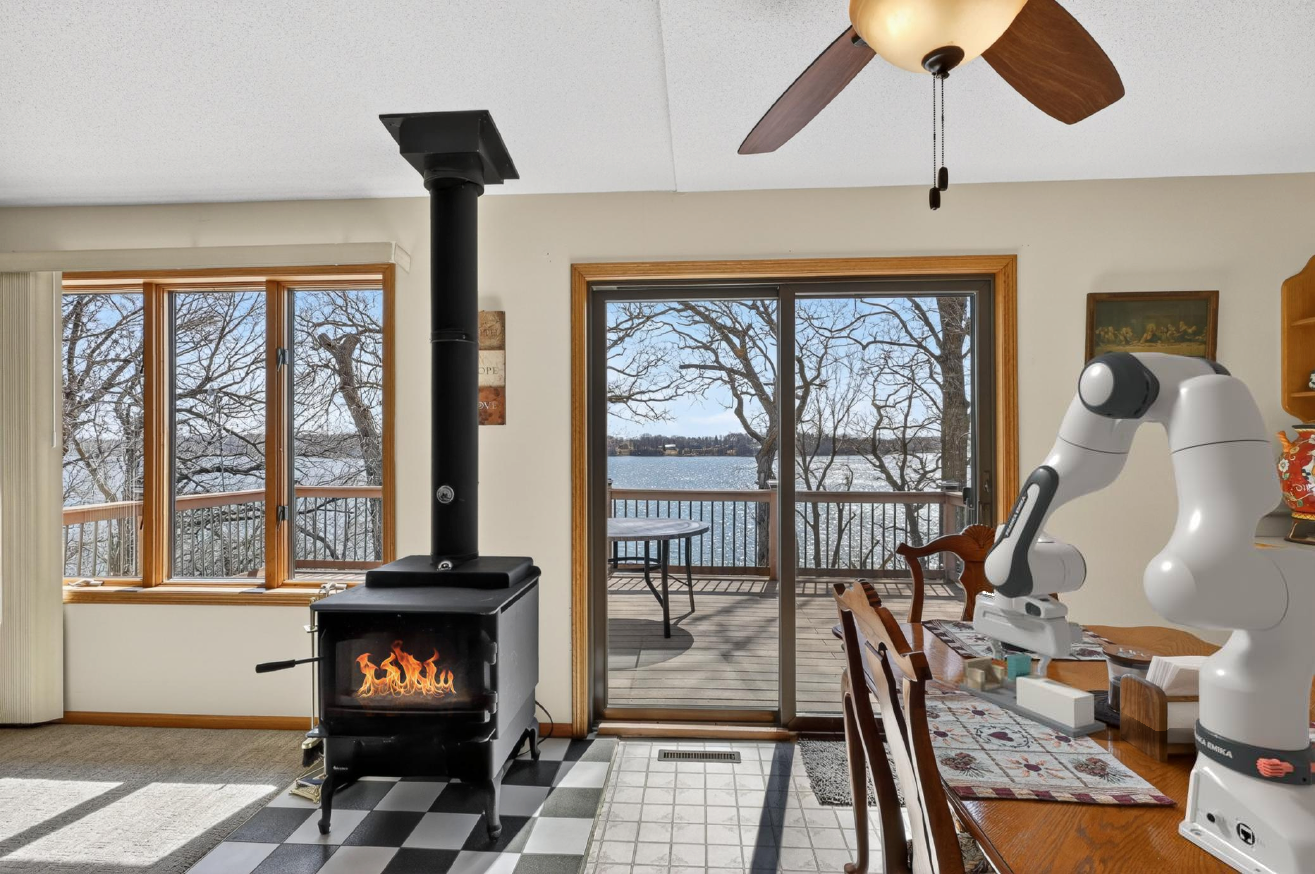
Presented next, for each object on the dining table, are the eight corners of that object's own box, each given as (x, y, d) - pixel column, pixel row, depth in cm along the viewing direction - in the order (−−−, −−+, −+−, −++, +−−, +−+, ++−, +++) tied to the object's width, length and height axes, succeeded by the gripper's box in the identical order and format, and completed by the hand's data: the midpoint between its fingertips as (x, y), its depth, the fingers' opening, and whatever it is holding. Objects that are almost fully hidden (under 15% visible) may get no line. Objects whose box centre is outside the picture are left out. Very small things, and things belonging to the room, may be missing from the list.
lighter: (1081, 641, 177) (1081, 612, 177) (1082, 643, 176) (1082, 613, 176) (1051, 638, 181) (1050, 609, 181) (1051, 640, 179) (1051, 610, 179)
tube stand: (1106, 729, 123) (1105, 694, 123) (1072, 737, 119) (1072, 701, 119) (988, 682, 147) (988, 654, 147) (958, 688, 143) (957, 659, 143)
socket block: (1004, 686, 142) (1004, 662, 142) (980, 691, 139) (980, 666, 139) (987, 679, 146) (986, 656, 146) (963, 684, 143) (963, 660, 143)
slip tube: (1087, 716, 124) (1086, 674, 124) (1070, 720, 122) (1070, 677, 122) (1016, 689, 138) (1016, 651, 138) (1001, 692, 136) (1000, 653, 136)
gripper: (965, 590, 143) (966, 653, 143) (1053, 612, 124) (1054, 685, 124) (986, 587, 146) (987, 650, 145) (1076, 609, 127) (1076, 681, 127)
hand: (1018, 666), depth 135 cm, fingers open, 8 cm apart
